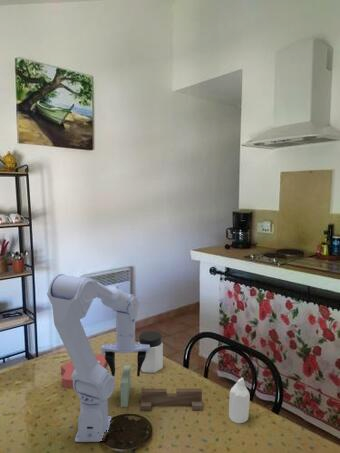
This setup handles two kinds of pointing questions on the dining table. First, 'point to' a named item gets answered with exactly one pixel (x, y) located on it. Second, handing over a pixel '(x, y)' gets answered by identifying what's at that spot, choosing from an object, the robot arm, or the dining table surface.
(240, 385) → the bottle
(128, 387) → the slotted plate
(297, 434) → the dining table surface
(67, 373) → the plaque
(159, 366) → the jar
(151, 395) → the walnut stand
